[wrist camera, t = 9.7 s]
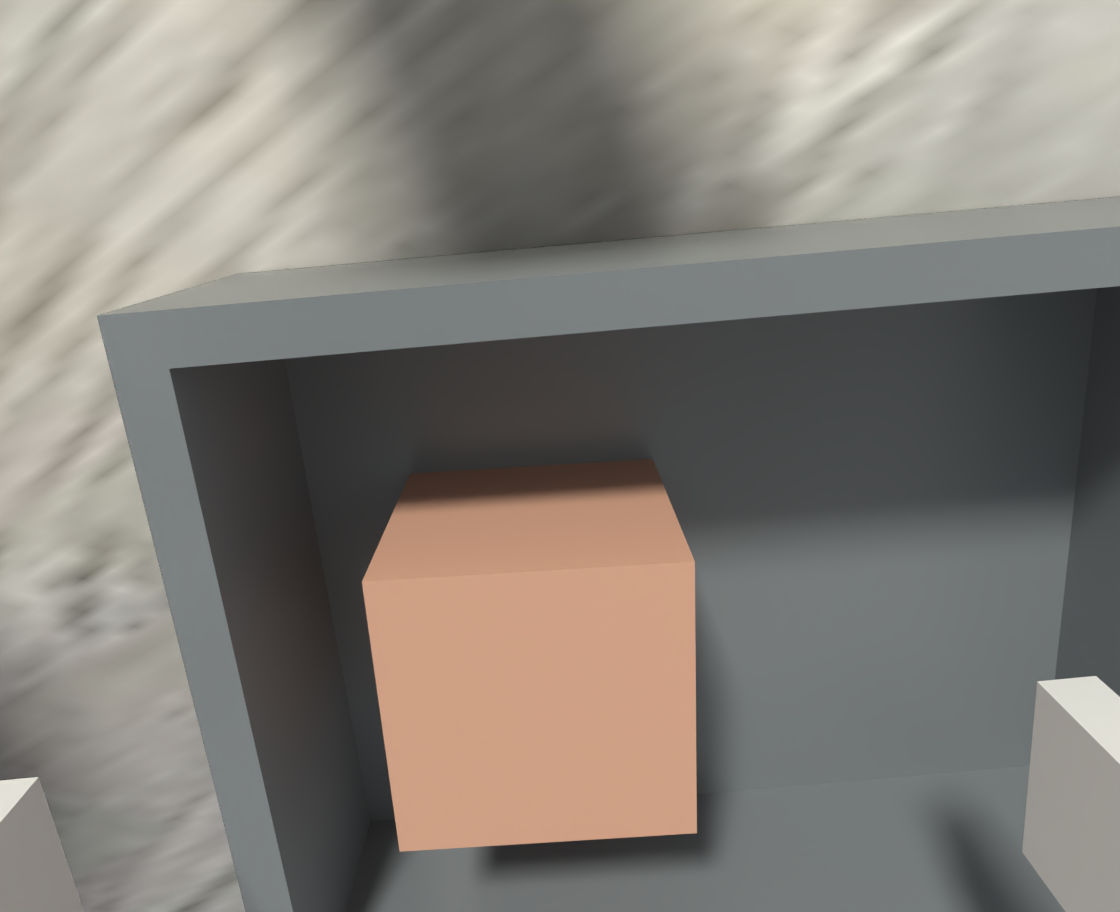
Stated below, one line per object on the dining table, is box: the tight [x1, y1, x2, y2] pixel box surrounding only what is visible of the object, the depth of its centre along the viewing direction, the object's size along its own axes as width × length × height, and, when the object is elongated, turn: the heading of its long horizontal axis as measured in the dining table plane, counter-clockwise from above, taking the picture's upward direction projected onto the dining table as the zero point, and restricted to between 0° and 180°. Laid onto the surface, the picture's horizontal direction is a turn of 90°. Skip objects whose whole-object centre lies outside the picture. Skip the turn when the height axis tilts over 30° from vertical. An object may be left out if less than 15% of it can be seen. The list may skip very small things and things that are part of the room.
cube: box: [362, 459, 697, 852], centre depth 16 cm, size 5×5×5 cm
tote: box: [97, 197, 1120, 912], centre depth 16 cm, size 18×14×6 cm
